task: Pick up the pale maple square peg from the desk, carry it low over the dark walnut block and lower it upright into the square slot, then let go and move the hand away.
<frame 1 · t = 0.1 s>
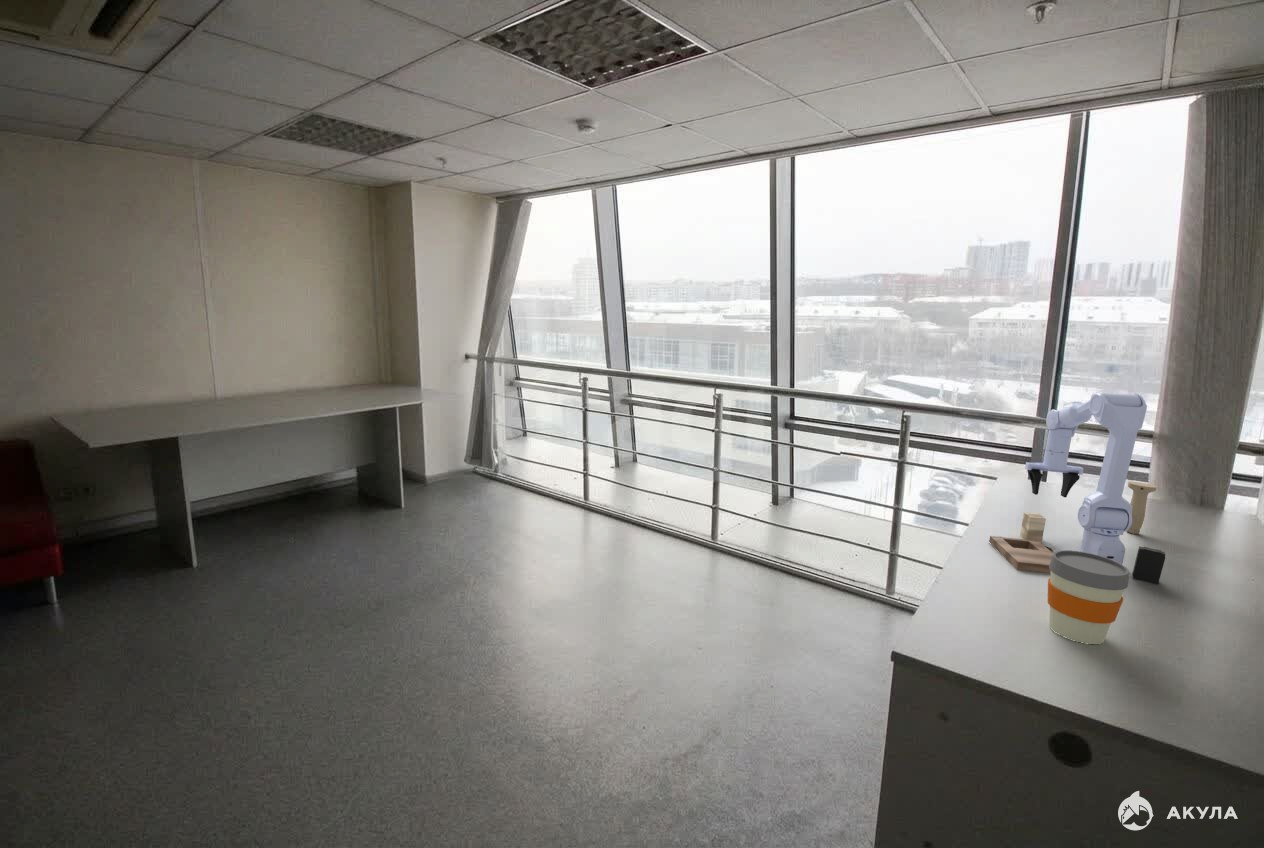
hand: (1049, 495, 182), 10 cm above the table, tool pointing down, fingers open, 7 cm apart
maple peg: (1030, 538, 173), on the table
ink cartridge: (1145, 580, 148), on the table
reusable coffee cup: (1075, 633, 121), on the table
slotted walnut block: (1027, 557, 159), on the table
handle: (1132, 533, 182), on the table
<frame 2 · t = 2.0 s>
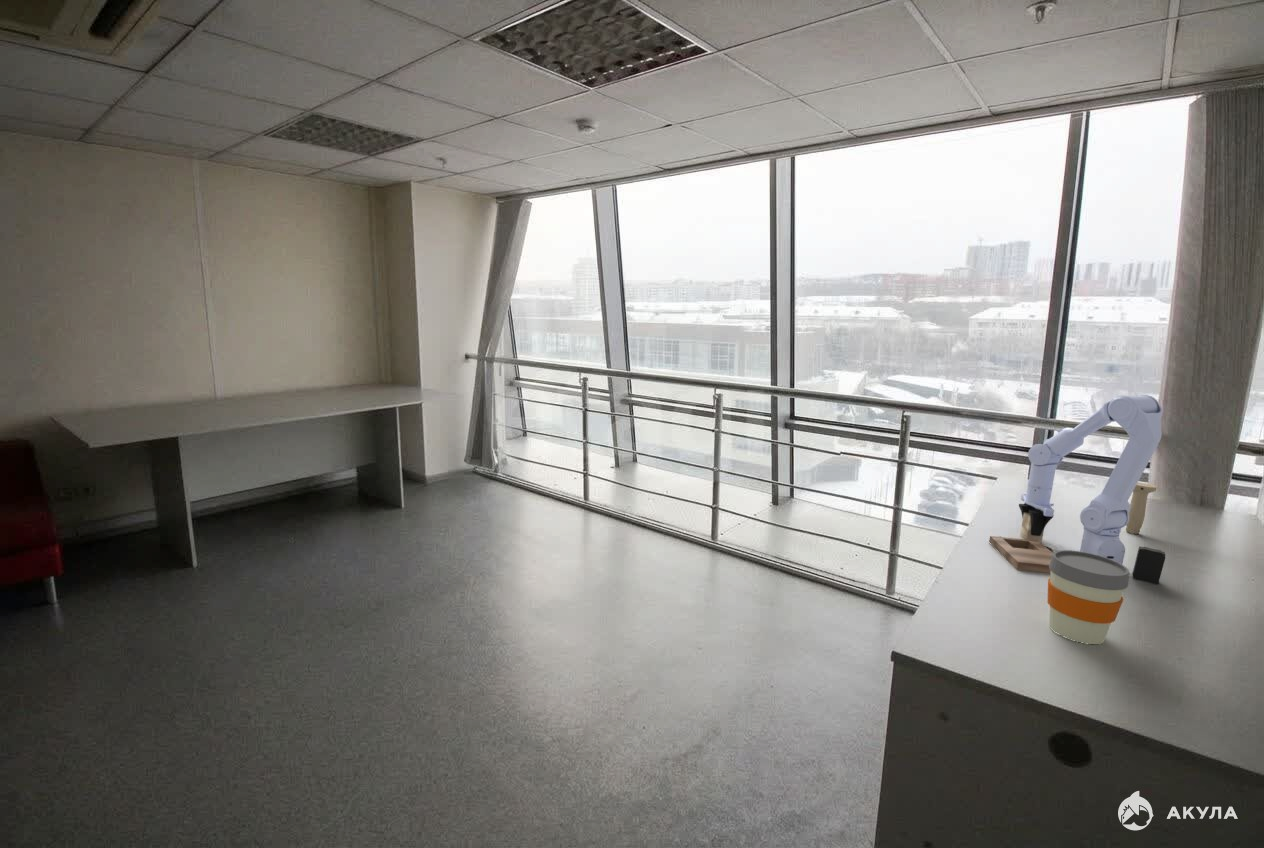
hand: (1031, 532, 173), 2 cm above the table, tool pointing down, fingers closed on maple peg, 4 cm apart
maple peg: (1030, 538, 173), on the table, touching gripper
everything else where it was.
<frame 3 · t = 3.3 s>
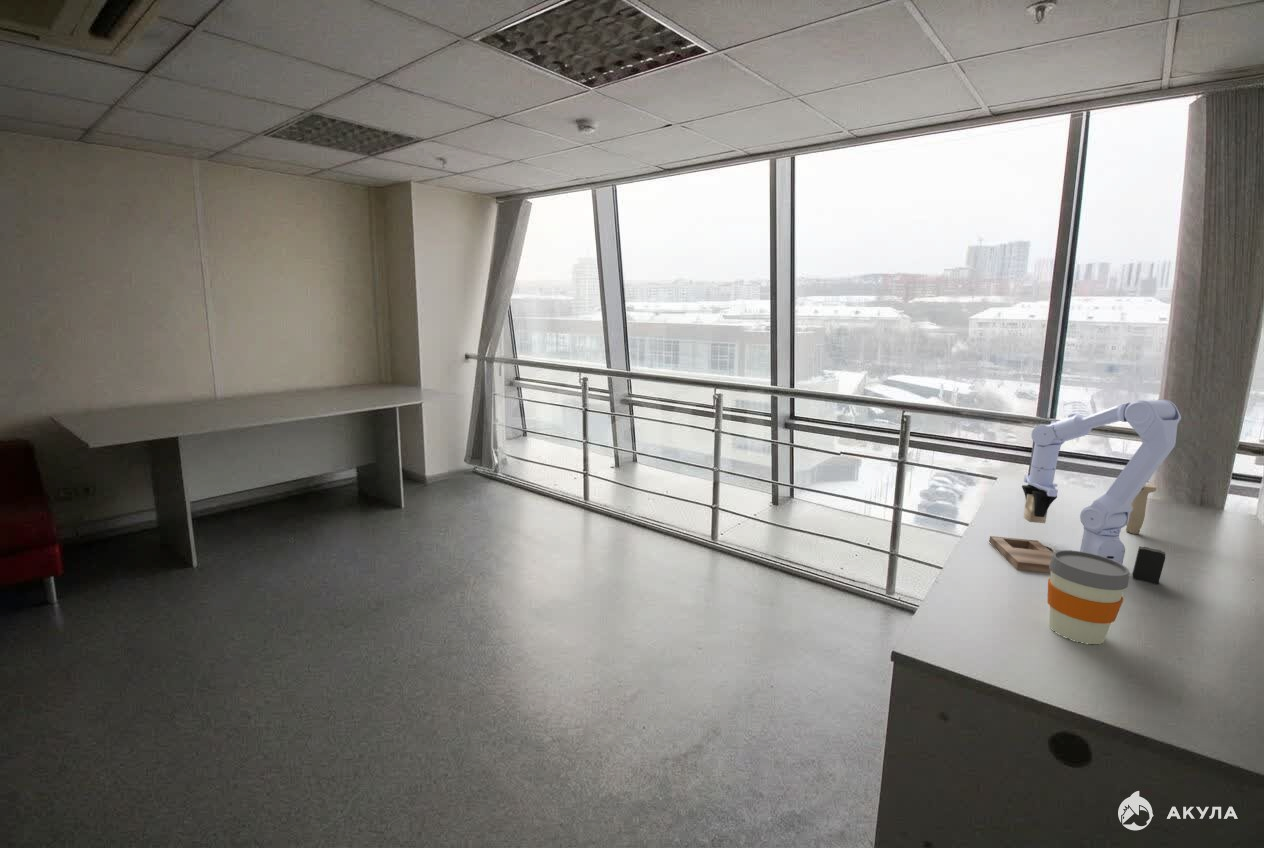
hand: (1035, 513, 171), 7 cm above the table, tool pointing down, fingers closed on maple peg, 4 cm apart
maple peg: (1034, 520, 172), point 6 cm above the table, touching gripper
everything else where it was.
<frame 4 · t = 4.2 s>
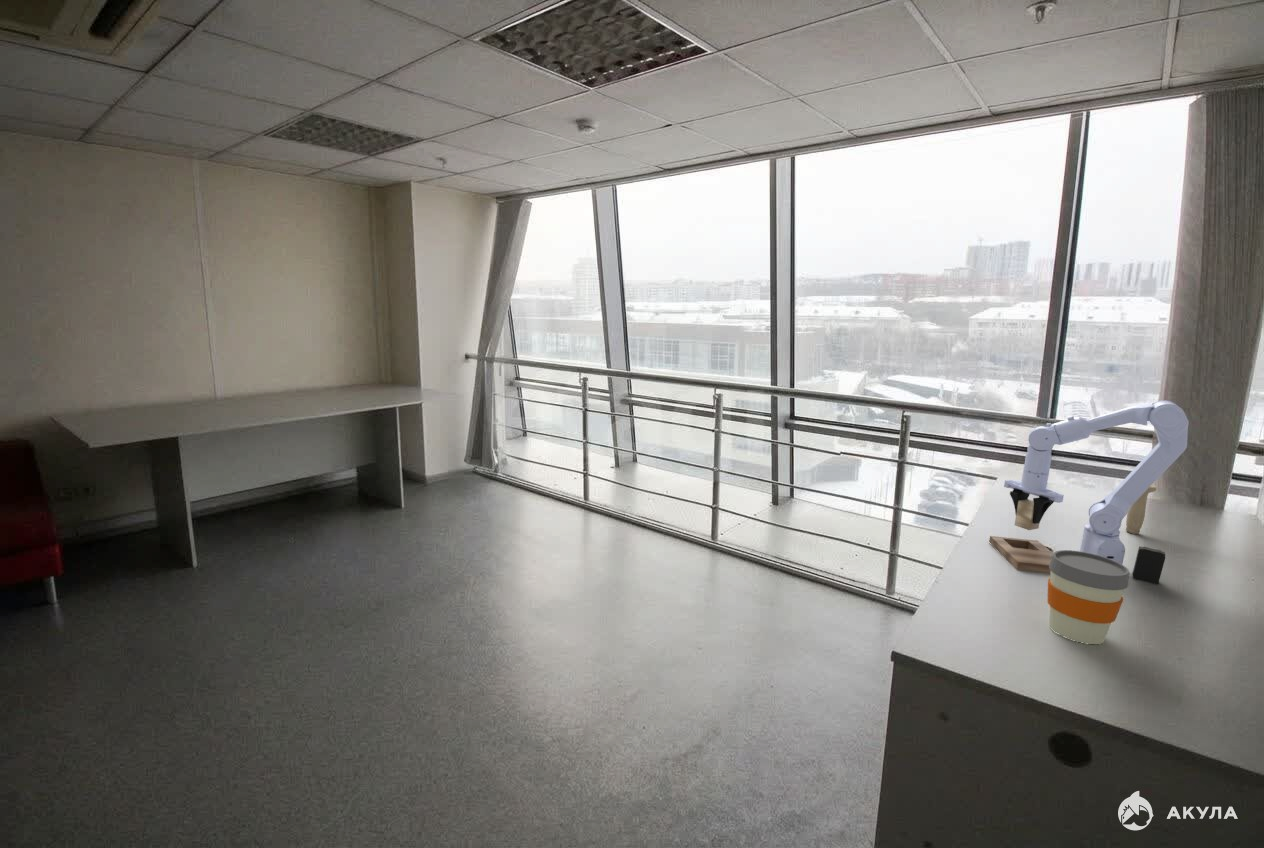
hand: (1027, 520, 164), 8 cm above the table, tool pointing down, fingers closed on maple peg, 4 cm apart
maple peg: (1026, 526, 165), point 6 cm above the table, touching gripper
everything else where it was.
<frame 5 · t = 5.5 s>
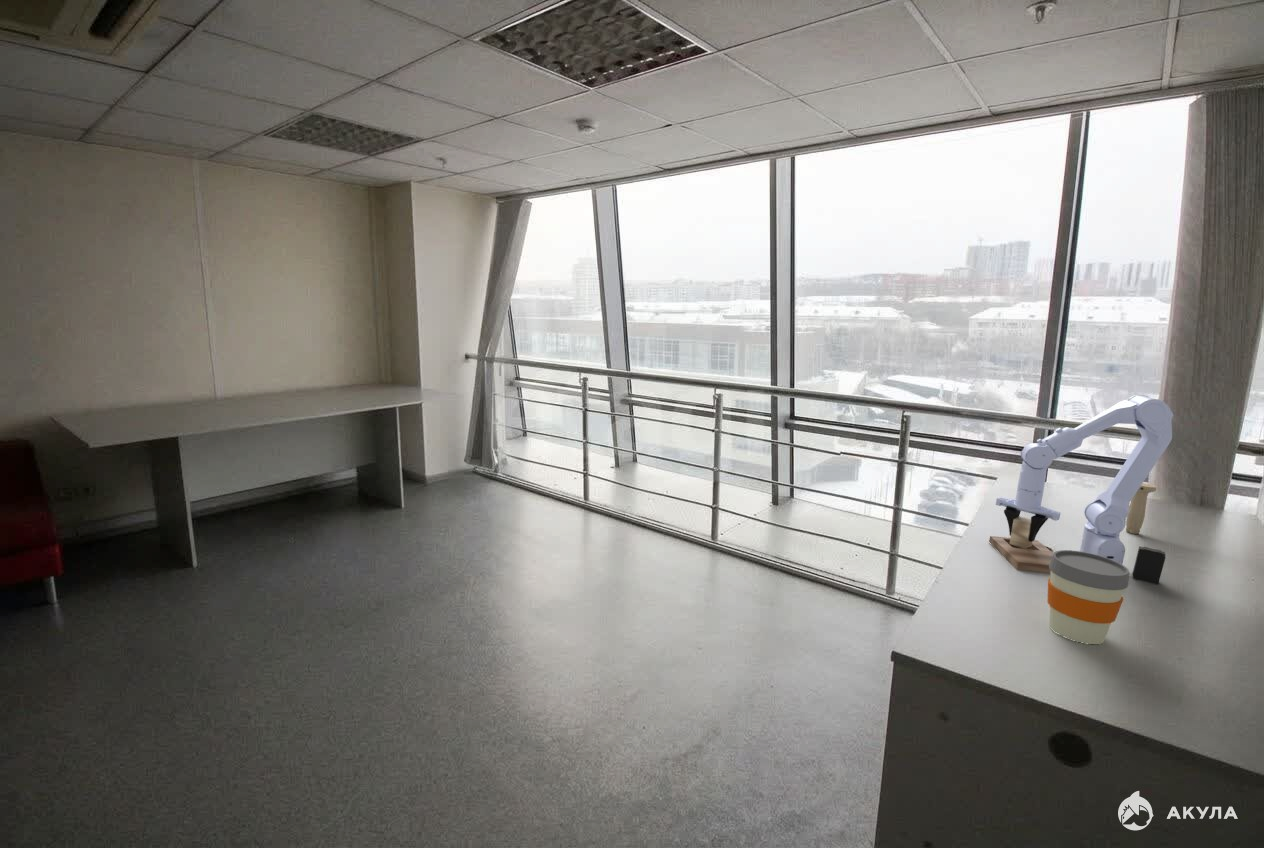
hand: (1021, 537, 162), 4 cm above the table, tool pointing down, fingers closed on maple peg, 4 cm apart
maple peg: (1020, 544, 163), point 2 cm above the table, touching gripper
everything else where it was.
when the fingers open (3 cm above the table, at t = 6.6 s): maple peg drops 1 cm, resting in slotted walnut block.
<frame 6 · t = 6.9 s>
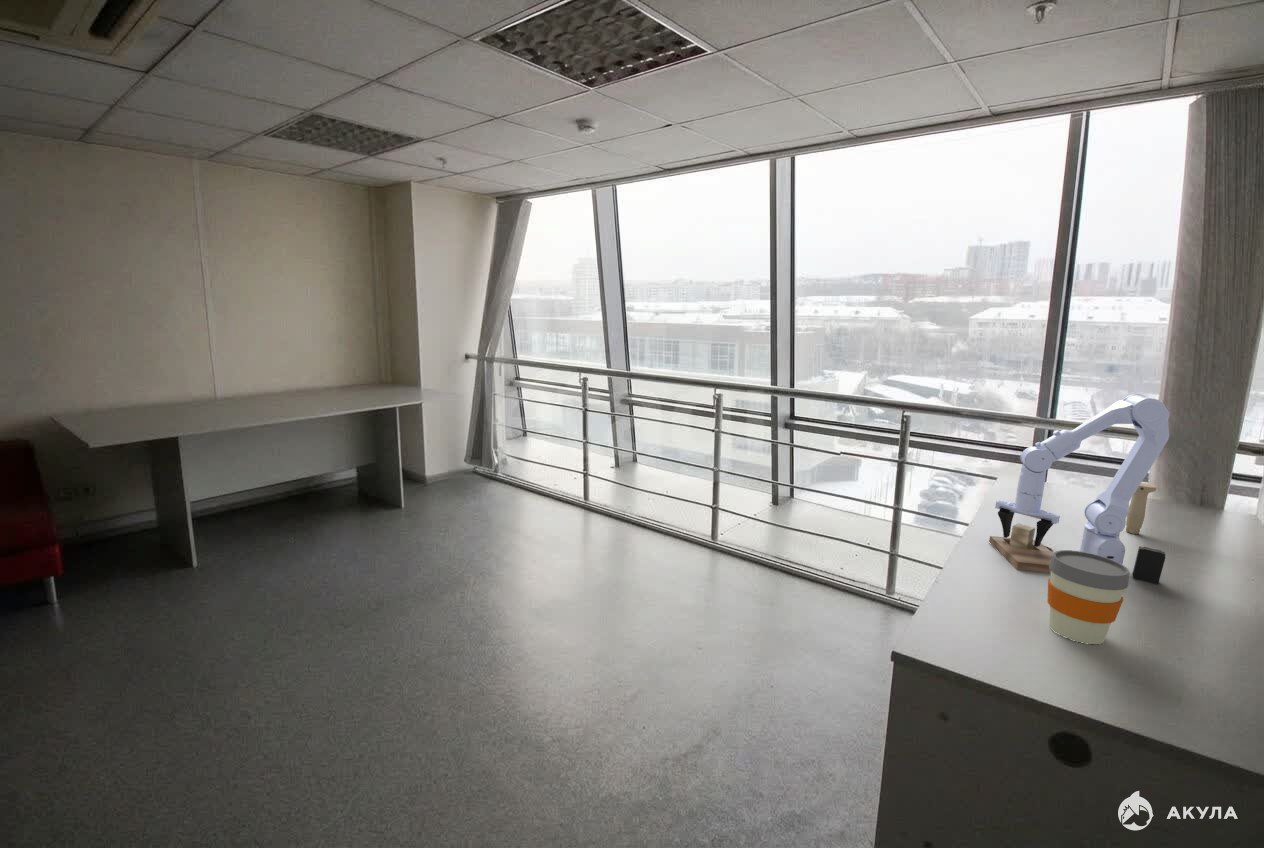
hand: (1021, 541, 163), 3 cm above the table, tool pointing down, fingers open, 7 cm apart
maple peg: (1019, 551, 163), resting in slotted walnut block
everything else where it was.
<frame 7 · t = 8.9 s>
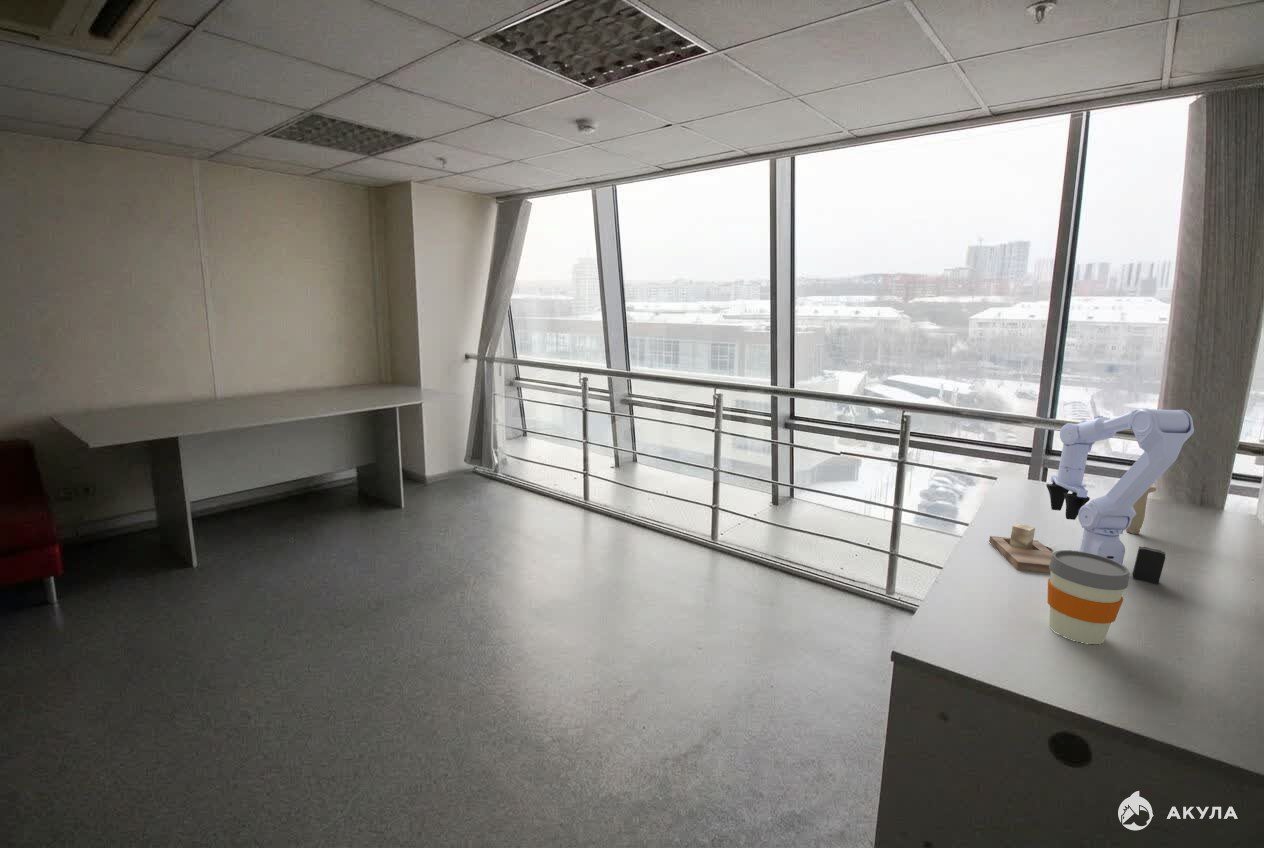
hand: (1063, 514, 169), 8 cm above the table, tool pointing down, fingers open, 7 cm apart
nothing on the table moved.
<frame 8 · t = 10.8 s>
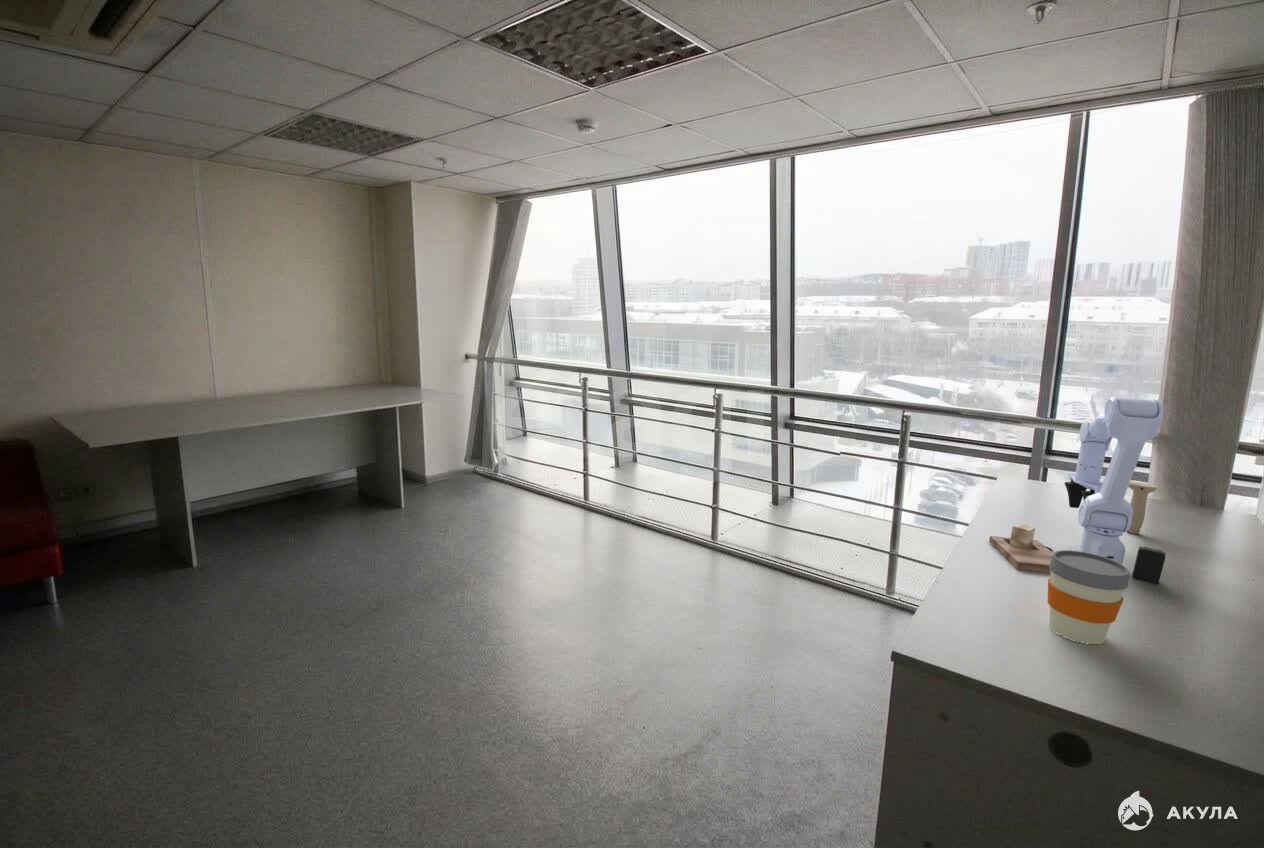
hand: (1081, 511, 172), 8 cm above the table, tool pointing down, fingers open, 7 cm apart
nothing on the table moved.
at the end: maple peg 0.0 cm from the target spot on the slotted walnut block, point 0.0 cm above the slotted walnut block's base; maple peg tilted 0°; the gripper is holding nothing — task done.
